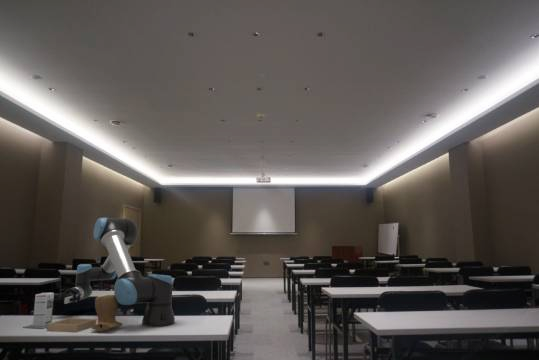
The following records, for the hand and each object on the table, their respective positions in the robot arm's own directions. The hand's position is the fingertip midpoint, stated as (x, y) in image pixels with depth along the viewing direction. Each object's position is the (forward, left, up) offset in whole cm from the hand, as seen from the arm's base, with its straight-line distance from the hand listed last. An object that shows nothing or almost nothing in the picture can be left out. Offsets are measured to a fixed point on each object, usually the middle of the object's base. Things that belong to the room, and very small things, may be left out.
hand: (51, 300), depth 185 cm
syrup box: (-1, +5, -10) cm, 12 cm away
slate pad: (-1, +5, -11) cm, 12 cm away
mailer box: (-18, +1, -11) cm, 21 cm away
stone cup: (-35, +7, -11) cm, 38 cm away
